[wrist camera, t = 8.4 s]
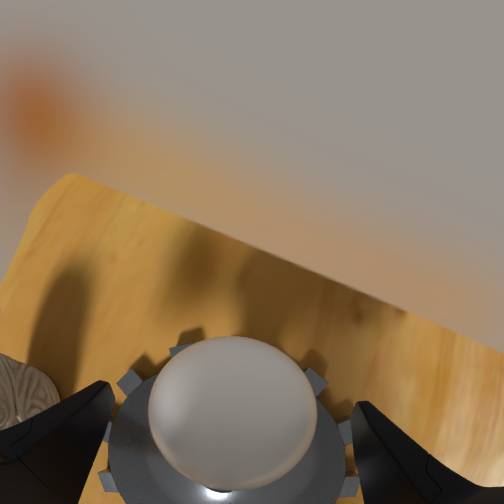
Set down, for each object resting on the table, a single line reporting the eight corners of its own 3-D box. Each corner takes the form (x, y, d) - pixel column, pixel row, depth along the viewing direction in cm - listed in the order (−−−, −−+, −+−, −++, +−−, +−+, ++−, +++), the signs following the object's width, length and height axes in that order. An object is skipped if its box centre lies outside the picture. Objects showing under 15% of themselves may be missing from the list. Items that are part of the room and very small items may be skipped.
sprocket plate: (394, 478, 14) (405, 484, 12) (192, 576, 9) (188, 586, 7) (264, 299, 21) (265, 290, 20) (69, 404, 16) (55, 403, 15)
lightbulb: (261, 463, 14) (273, 542, 4) (176, 420, 15) (88, 442, 6) (305, 384, 17) (372, 369, 7) (220, 343, 18) (183, 281, 8)
